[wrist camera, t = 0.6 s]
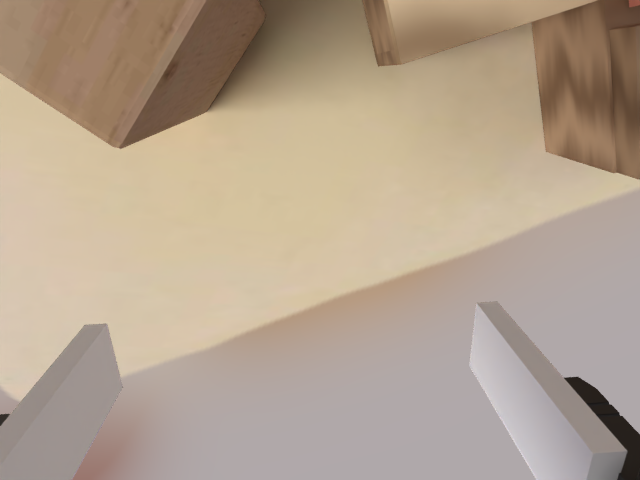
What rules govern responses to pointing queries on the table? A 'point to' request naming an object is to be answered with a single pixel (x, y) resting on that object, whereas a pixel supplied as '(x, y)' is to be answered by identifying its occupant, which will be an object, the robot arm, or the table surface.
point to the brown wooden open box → (575, 80)
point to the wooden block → (125, 58)
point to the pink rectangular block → (634, 3)
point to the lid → (460, 21)
